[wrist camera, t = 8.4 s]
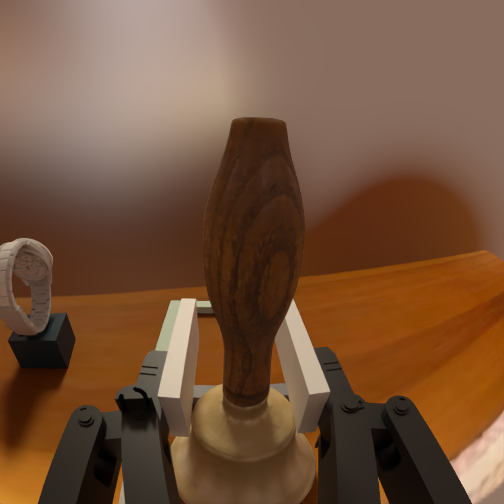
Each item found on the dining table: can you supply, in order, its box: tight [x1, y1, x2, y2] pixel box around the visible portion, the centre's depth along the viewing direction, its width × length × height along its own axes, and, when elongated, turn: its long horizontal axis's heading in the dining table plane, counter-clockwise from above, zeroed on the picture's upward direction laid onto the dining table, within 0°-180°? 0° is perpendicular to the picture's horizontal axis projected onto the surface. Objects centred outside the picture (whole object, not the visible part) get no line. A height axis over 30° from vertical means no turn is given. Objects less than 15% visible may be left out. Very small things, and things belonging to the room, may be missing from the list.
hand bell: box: [170, 117, 316, 504], centre depth 9 cm, size 8×8×16 cm
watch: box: [0, 238, 75, 368], centre depth 17 cm, size 6×8×11 cm
